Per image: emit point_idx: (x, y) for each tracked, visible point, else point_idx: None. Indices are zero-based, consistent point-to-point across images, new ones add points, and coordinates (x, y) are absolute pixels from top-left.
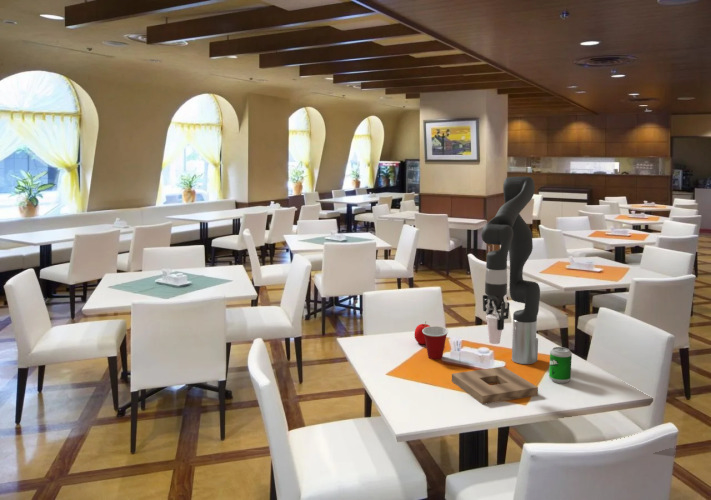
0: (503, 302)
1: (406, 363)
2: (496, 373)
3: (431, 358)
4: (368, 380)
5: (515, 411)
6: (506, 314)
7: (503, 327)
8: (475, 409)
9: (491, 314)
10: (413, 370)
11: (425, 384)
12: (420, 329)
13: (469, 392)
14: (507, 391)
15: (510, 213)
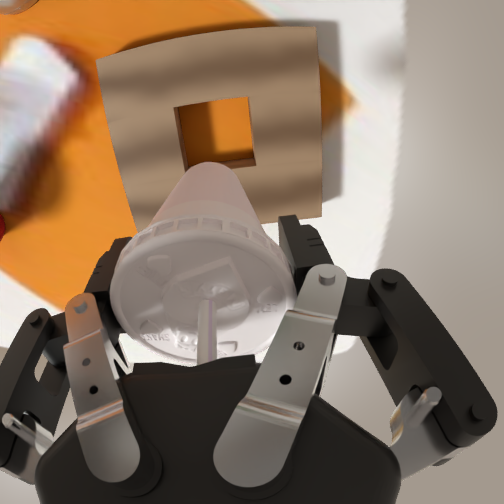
0: (432, 464)
1: (38, 289)
2: (156, 103)
3: (3, 234)
4: (136, 361)
5: (378, 148)
6: (404, 315)
7: (316, 232)
8: (333, 230)
9: (130, 317)
10: (75, 288)
11: None
12: None
13: None
14: (318, 136)
15: None
